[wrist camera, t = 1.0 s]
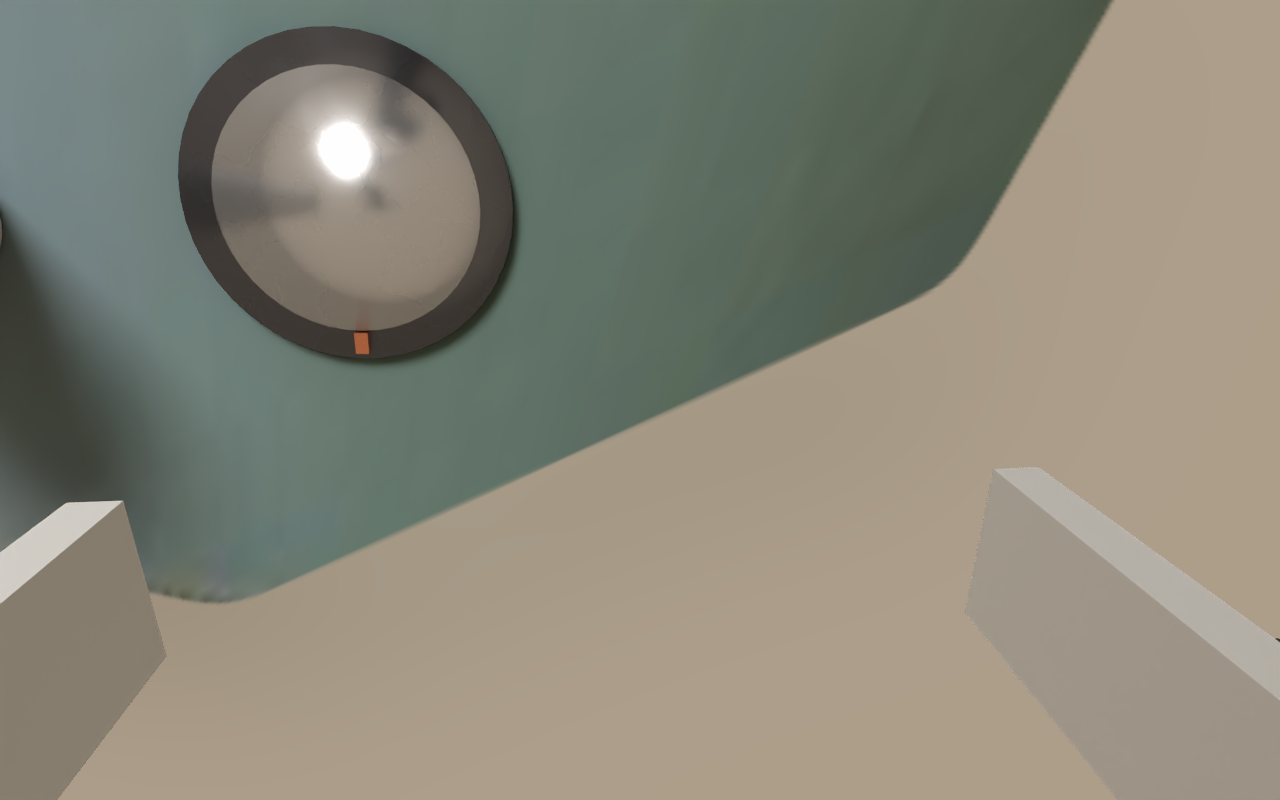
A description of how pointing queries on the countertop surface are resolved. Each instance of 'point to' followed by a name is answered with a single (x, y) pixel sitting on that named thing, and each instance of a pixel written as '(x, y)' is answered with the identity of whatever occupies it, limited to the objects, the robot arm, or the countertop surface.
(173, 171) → the countertop surface
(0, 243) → the coffee cup
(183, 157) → the plate
